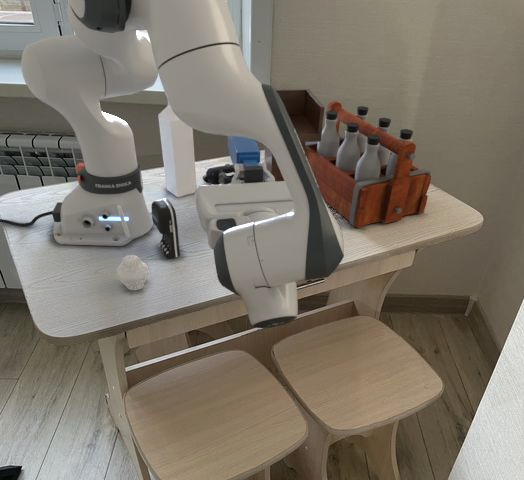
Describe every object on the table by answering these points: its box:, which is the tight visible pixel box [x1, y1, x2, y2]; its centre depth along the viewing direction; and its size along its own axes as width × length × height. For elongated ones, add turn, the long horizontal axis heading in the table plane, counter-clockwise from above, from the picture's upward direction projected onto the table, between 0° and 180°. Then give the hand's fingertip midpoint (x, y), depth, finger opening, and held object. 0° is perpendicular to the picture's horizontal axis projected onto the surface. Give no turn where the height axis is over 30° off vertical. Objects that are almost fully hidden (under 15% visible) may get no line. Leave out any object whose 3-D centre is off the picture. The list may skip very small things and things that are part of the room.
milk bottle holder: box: [305, 100, 432, 229], centre depth 126 cm, size 21×35×19 cm, turn 26°
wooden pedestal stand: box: [263, 88, 325, 182], centre depth 108 cm, size 12×12×29 cm
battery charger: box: [150, 198, 181, 259], centre depth 106 cm, size 7×4×11 cm, turn 25°
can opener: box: [202, 163, 244, 185], centre depth 134 cm, size 18×7×6 cm, turn 114°
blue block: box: [226, 136, 264, 183], centre depth 90 cm, size 4×18×4 cm, turn 10°
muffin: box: [116, 254, 150, 291], centre depth 97 cm, size 6×6×7 cm
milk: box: [157, 101, 198, 198], centre depth 124 cm, size 6×6×22 cm
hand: (249, 165), depth 86 cm, fingers closed on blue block, 2 cm apart
